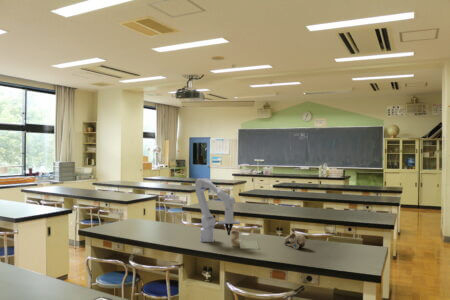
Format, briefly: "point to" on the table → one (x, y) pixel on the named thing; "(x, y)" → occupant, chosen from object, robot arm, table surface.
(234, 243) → the wooden block
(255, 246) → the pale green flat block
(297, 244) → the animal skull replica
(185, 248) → the table surface
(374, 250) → the table surface
